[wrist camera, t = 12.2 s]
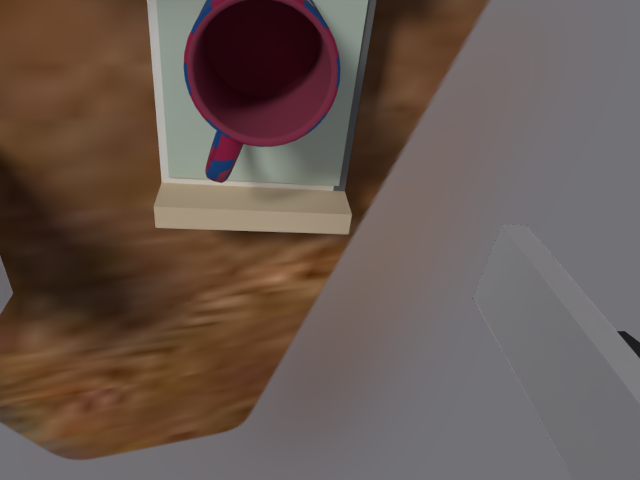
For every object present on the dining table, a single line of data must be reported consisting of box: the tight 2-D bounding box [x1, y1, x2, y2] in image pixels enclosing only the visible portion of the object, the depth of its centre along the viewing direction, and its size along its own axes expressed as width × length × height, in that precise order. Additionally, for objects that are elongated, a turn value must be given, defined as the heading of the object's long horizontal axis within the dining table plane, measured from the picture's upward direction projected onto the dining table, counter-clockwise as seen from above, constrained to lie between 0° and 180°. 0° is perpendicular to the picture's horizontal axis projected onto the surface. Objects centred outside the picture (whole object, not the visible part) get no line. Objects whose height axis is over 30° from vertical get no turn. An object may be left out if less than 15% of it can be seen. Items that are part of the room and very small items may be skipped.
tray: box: [147, 0, 377, 234], centre depth 26 cm, size 22×12×6 cm, turn 173°
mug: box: [183, 0, 341, 183], centre depth 24 cm, size 7×10×7 cm
